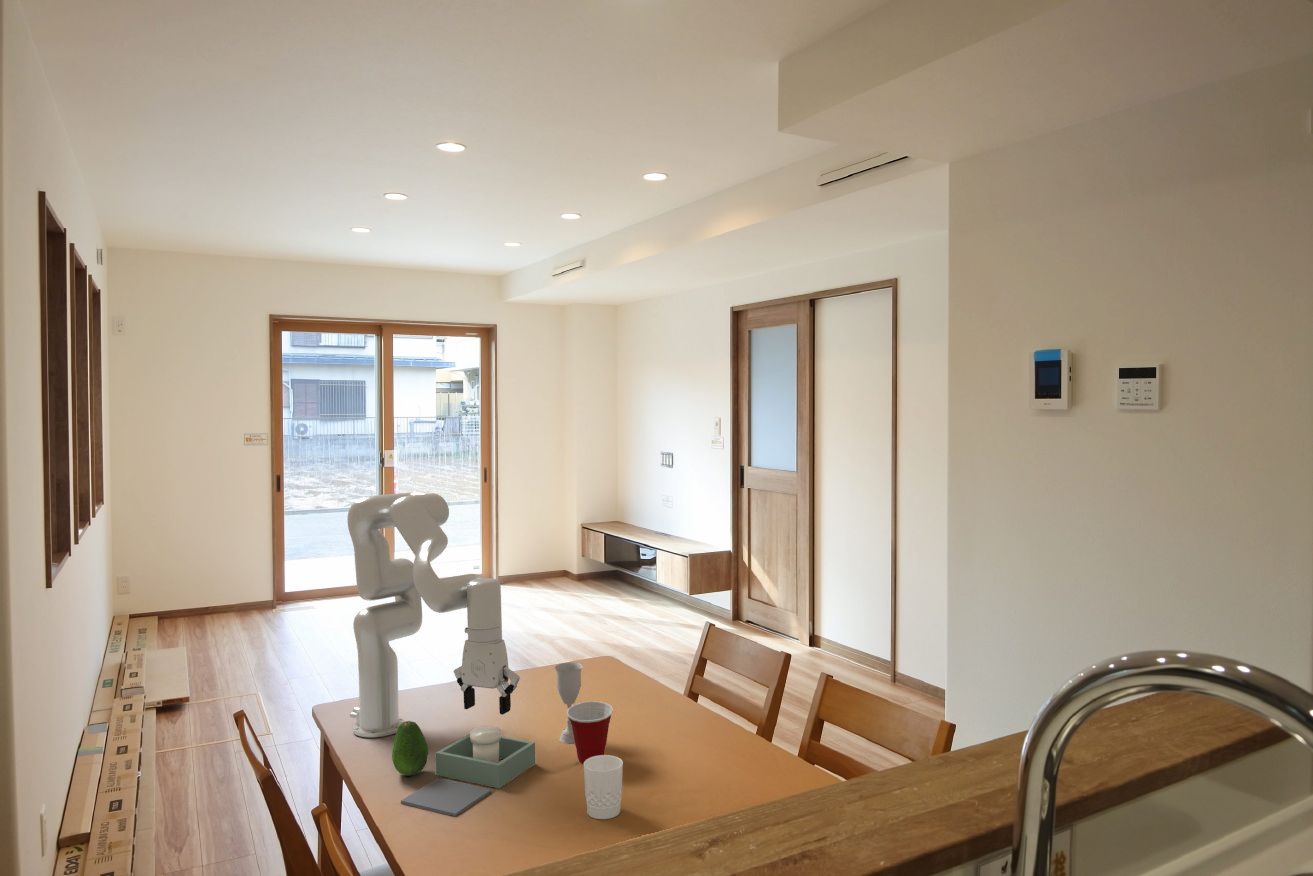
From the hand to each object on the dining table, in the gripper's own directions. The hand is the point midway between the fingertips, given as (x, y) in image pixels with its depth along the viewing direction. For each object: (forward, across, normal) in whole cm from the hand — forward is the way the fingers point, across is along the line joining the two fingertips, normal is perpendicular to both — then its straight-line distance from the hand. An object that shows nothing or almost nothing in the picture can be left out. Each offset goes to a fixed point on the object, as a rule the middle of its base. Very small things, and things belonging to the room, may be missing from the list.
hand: (487, 710), depth 190 cm
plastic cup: (+14, +18, +14) cm, 27 cm away
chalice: (+14, +7, +23) cm, 28 cm away
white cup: (+15, +33, -7) cm, 37 cm away
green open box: (+14, -1, 0) cm, 14 cm away
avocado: (+14, -14, -9) cm, 22 cm away
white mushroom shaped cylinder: (+14, -1, 0) cm, 14 cm away
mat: (+14, 0, -15) cm, 20 cm away
